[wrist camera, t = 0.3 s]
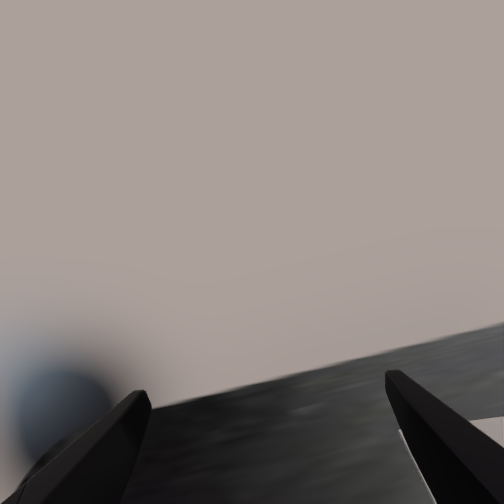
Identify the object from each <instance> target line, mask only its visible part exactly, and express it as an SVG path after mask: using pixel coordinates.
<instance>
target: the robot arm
mask: <svg viewBox="0 0 504 504" xmlns="http://www.w3.org/2000/svg"><path fill="white" fill-rule="evenodd" d="M385 389H386V393H387V396H388V399H389V401H390V404H391V406H392V409H393V411H394V414H395V416H396V419H397V421H398V424H399V426H400V429H401V431H402V433H403V436H404V438H405V441H406V443H407V446H408V448H409V450H410V452H411V454H412V456H413V458H414V460H415V462H416V464H417V466H418V468H419V470H420V472H421V474H422V475H423V477H424V479H425V481H426V483H427V485H428V487H429V489H430V491H431V493H432V495H433V497H434V499H435V501H436V503H437V504H504V447H502V446H501V445H500V444H498V443H497V442H496V441H494V440H493V439H492V438H490V437H489V436H488V435H486V434H485V433H484V432H482V431H481V430H480V429H478V428H477V427H476V426H474V425H473V424H472V423H470V422H469V421H468V420H466V419H465V418H464V417H462V416H461V415H460V414H458V413H457V412H456V411H454V410H453V409H452V408H450V407H449V406H447V405H446V404H445V403H443V402H442V401H441V400H439V399H438V398H437V397H435V396H434V395H433V394H431V393H430V392H429V391H427V390H426V389H425V388H423V387H422V386H421V385H419V384H418V383H417V382H415V381H414V380H413V379H411V378H410V377H409V376H407V375H406V374H405V373H403V372H402V371H401V370H399V369H390V370H386V371H385ZM151 409H152V406H151V403H150V400H149V398H148V395H147V393H146V391H145V390H135V391H133V392H132V393H130V394H129V395H128V396H127V397H126V398H124V399H123V400H122V401H121V402H120V403H119V404H117V405H116V406H115V407H114V408H113V409H112V410H110V411H109V412H108V413H107V414H106V415H105V416H103V417H102V418H101V419H100V420H99V421H97V422H96V423H95V424H94V425H93V426H92V427H90V428H89V429H88V430H87V431H86V432H85V433H83V434H82V435H81V436H80V437H79V438H78V439H76V440H75V441H74V442H73V443H72V444H71V445H69V446H68V447H67V448H66V449H65V450H63V451H62V452H61V453H60V454H59V455H58V456H56V457H55V458H54V459H53V460H52V461H51V462H49V463H48V464H47V465H46V466H45V467H44V468H42V469H41V470H40V471H39V472H38V473H37V474H35V475H34V476H33V477H32V478H31V479H29V480H28V482H27V483H25V484H24V485H22V486H21V487H20V488H19V489H18V490H17V491H15V492H14V493H13V494H12V495H11V496H10V497H8V498H7V499H6V500H5V501H3V502H2V503H1V504H120V501H121V499H122V496H123V493H124V491H125V488H126V486H127V483H128V481H129V478H130V475H131V473H132V470H133V468H134V465H135V462H136V460H137V457H138V454H139V451H140V447H141V444H142V441H143V437H144V434H145V431H146V427H147V424H148V421H149V417H150V414H151Z"/></svg>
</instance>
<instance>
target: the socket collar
mask: <svg viewBox="0 0 504 504" xmlns="http://www.w3.org/2000/svg"><path fill="white" fill-rule="evenodd" d="M469 422H470V423H472V424H473V425H474V426H476V427H477V428H478V429H480V430H481V431H482V432H484V433H485V434H486V435H488V436H489V437H490V438H492V439H493V440H494V441H496V442H497V443H498V444H500V445H501V446H502V447H504V417H496V418H488V419H481V420H473V421H469ZM399 436H400V438H401V440H402V442H403V444H404V446H405V448H406V450H407V452H408V454H409V456H410V458H411V460H412V462H413V464H414V466H415V468H416V470H417V472H418V474H419V476H420V478H421V480H422V482H423V484H424V486H425V488H426V490H427V492H428V494H429V496H430V498H431V500H432V502H433V504H437V503H436V501H435V499H434V497H433V495H432V493H431V491H430V489H429V487H428V485H427V483H426V481H425V479H424V477H423V475H422V474H421V472H420V470H419V468H418V466H417V464H416V462H415V460H414V458H413V456H412V454H411V452H410V450H409V448H408V446H407V443H406V441H405V438H404V436H403V433H402V431H401V430H399Z"/></svg>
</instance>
